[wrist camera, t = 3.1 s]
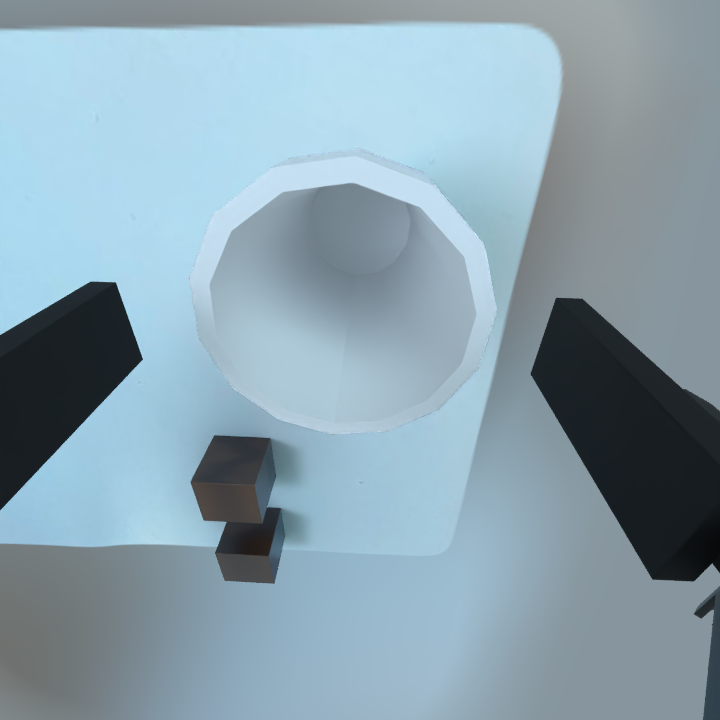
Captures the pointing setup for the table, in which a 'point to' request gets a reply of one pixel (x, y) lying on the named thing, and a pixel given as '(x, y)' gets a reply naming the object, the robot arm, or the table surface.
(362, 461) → the table surface
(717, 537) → the robot arm
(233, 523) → the walnut block far
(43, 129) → the table surface
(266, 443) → the walnut block near
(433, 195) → the foam cup
